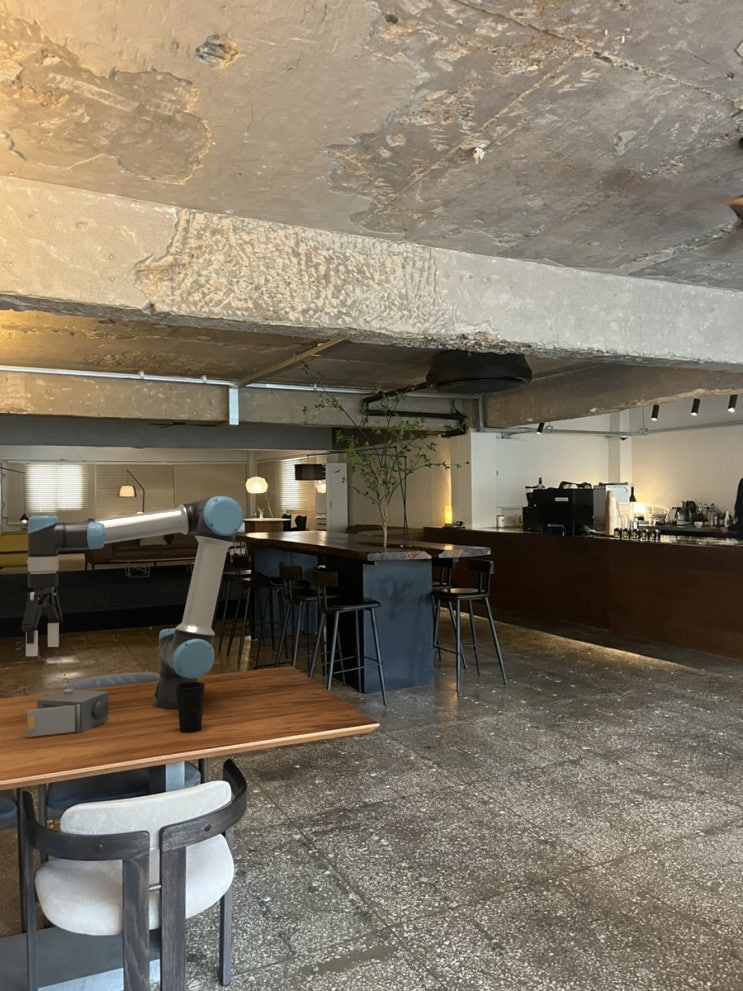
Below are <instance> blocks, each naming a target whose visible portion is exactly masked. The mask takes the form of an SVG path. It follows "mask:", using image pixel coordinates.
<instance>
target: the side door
mask: <svg viewBox="0 0 743 991" xmlns="http://www.w3.org/2000/svg"><path fill="white" fill-rule="evenodd" d="M26 712H27V714H26V716H27V717H26V729H27V730H26V732H27V733H26V736H27V738H31V737H39V736H41V737H42V736H47V735H57V734H66V733H76V732H75V705H74V706H64V707H53V708H43V709H37V708H35V709H28V710H27V711H26Z"/></svg>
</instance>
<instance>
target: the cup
mask: <svg viewBox="0 0 743 991" xmlns="http://www.w3.org/2000/svg"><path fill="white" fill-rule="evenodd" d="M205 684H206V683H204V682H201V681H200V682H186V683H181V684H178V685H176V695H177V705H178V708H177V713H178V723H179V732H181V733H186V734H190V733H191V734H192V733H197V732H199V731H201V730H202V722H203V714H204V713H203V712H204V711H203V709H204V701H205V688H206V687H205V686H206V685H205Z"/></svg>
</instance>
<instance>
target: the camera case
mask: <svg viewBox="0 0 743 991" xmlns="http://www.w3.org/2000/svg"><path fill="white" fill-rule="evenodd" d="M36 701H37V703H36V706H37V707H36V709H43V708H53V707H64V706H74V705H75V732H74V733H83V732H85V731H88V730H91V728H94V727H96V726H98V725H101V724H102V723H105V722H107V721H109V691H104V690H103V691H101V690H100V691H99V690H85V689H83V690H80V689H73V688H65V689H62V690H61V691H58V692H54V693H52V694H49V695H47V696H43V697H42V698H39V699H36Z"/></svg>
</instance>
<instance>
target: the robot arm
mask: <svg viewBox="0 0 743 991" xmlns="http://www.w3.org/2000/svg"><path fill="white" fill-rule="evenodd" d="M27 522H28V524H27V525H28V526H27V560H26V564H27V572H29V573H28V574H27V587H28V588H29V589H33V591H32V592H28V593H27V595H26V597H27V598H26V604H25V608H24V609H25V610H24V614H23V619H22V624H21V632H25V657H37V656H38V654H39V652H38V651H39V645H38V643H39V641H38V640H39V634H38V633H39V632H38V630H37V628H38V624H39V622H40V618H41V615H42V613H43V611H44V612H45V614H46V617H47V619H48V621H49V622H48V623H47V647H48V648H58V647H59V646H60V644H59V643H60V635H59V634H60V633H59V631H60V630H59V629H60V623H63V614H62V607H61V603H60V599H59V592H58V591H59V590H58V585H59V573H58V572H57V571H58V570H59V550H60V551H61V550H62V551H64V550H91V551H92V550H96V549H103V547H105V546H104V545H105V544H112V543H118V542H124V541H130V540H136V539H137V540H138V539H143V538H150V537H157V536H163V535H165V536H166V535H171V534H177V533H182V534H183V535H191V534H194V537H195V539H196V541H197V542H198V545H197V552H196V556H195V560H194V566H193V570H192V574H191V580H190V584H189V588H188V593H187V598H186V603H185V607H184V611H183V612H184V613H183V617H182V622H181V623H180V624H177V626H176V627H175V628H165V629H162V630H160V632H159V634H158V635H159V636H158V652H159V653H158V655H159V656H158V657H159V658H158V660H159V661H158V662H159V664H158V666H159V670H158V671H159V672H158V673H159V674H158V675H159V679H158V682H157V685H156V689H155V691H154V695H153V705H154V706H156V707H158V708H165V709H166V708H167V709H178V705H177V695H176V685H178V684H181V683H186V682H201V680H200V679H199V678H201V677H203V676H205V675H206V674H208V672H209V671H210V670H211V668H212V667H213V665H214V662H215V658H216V657H215V649H214V647H213V645H214V640H215V636H216V633H215V632H214V630H213V628H212V624H213V620H214V615H215V610H216V605H217V601H218V596H219V591H220V586H221V581H222V576H223V571H224V568H225V561H226V557H227V552H228V549H229V548H230V547H232V546H233V545H234V543H235V539H236V533H237V532H238V531H239V530H240V529H241V527H242V525H243V522H244V511H243V509H242V507H241V505H240V504H239V503H238V501H236V500H235V499H234V498H232V497H228V496H223V495H217V496H213V497H212V496H210V497H206V498H203V499H200V500H196V501H193V502H189V503H182V504H180V505H179V506H177V508H176V507H175V508H169V509H168V508H167V509H162V510H155V511H147V512H139V513H134V514H126V515H119V516H112V517H105V518H97V519H92V520H91V519H89V520H83V521H74V522H73V521H72V522H62V521H59V517H58V515H32V516H30V517H29V518H28V521H27Z"/></svg>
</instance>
